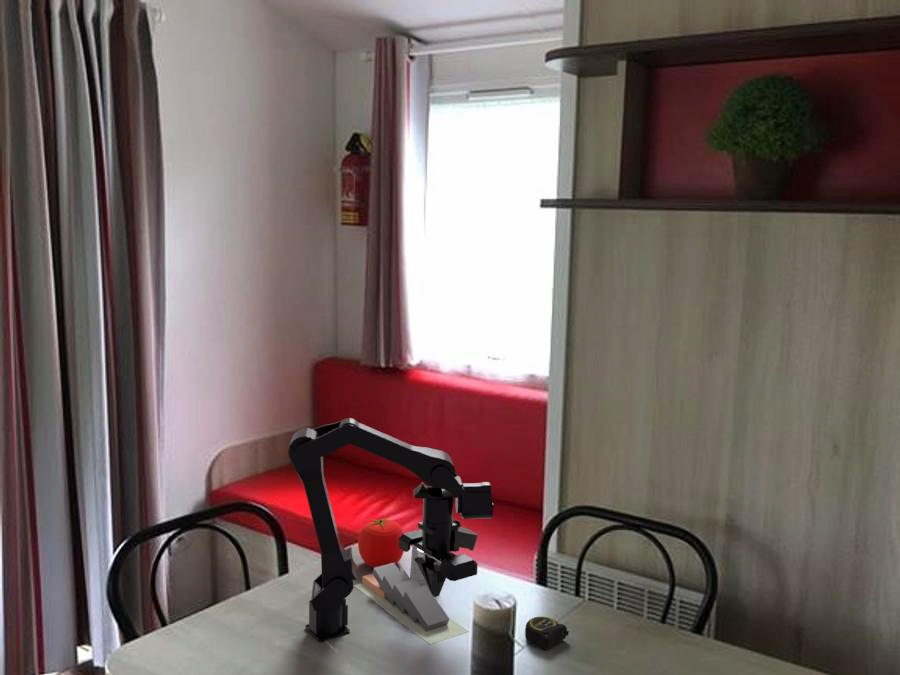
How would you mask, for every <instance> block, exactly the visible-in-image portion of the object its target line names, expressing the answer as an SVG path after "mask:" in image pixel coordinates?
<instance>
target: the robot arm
mask: <svg viewBox="0 0 900 675" xmlns="http://www.w3.org/2000/svg"><path fill="white" fill-rule="evenodd" d="M348 445H352V446H354V447H356V448H359V449H361V450H363V451H366V452H368V453H370V454H373V455H375V456H377V457H380V458H382V459H385V460H387V461H389V462H391V463H394V464H396V465H398V466H401V467H403V468H405V469H407V470H409V472H411V473H412V474H413V475H415V476H416V477H417V478H418V479H419V480H421V481H422V482H420V484H419V485H418V486H417V487H415V488H413V491H412V492H413V497H414V498H415V499H422V502H423V503H422V521H420V522H417V528H418V529H414V530H415V531H414V530H412V531H408V532H407V531H406V532H405V533H404V532H403V534H402V535H401V537H400V538H399V548H400V549H402V550H403V551H404V553H407V552H409V551H410V550H411V546H412V545H414V546H416V547H418V549H417V550H416V551H418V557H417V558H415V559H414V560H415V562H416V563H417V565H418V567H419V569H420V570H421V572H422V574H423V576H424V579H425V581H426V583H427V585H428V587H429V589H430V592H431V594H432V596H434V597H435V598H437V597H439V596H440V594H441V592H442V589H443V587H444V584H445V582H446V579H447V580H448V581H450V582H456V581H460V580H464V579H467V578H471V577H474V576H477V575H478V569H479V568H478V564H479V563H478V562H477V561H476V560H475V559H473V558H472V557H470V556H468V555H466V553H465V554H464V553H460V554H455V552H456V553H457V552H459V551H460V548H461V549H467V550H469V551H472V552H473V551H474V549H475V548H476V547H475V546H476V543H477V540H478V537H479V534H478V533H476V532H474V531H472V530H470V529H469V528H466V527H464V526H462V525H461V521H460V520H457V519H455V518H453V515H454V499H455V513H456V514H457V515H458V514H460V518H461V519H462V520H474V519H475V520H476V519H477V520H478V519H482V520H484V519H486V520H487V519H492V518H493V516H494V507H495V506H494V503H493V492H492V485H491V482H489V481H482V482H475V483H473V482H472V483H468V482H467V483H466V482H464V483H463V482H462V479H461V477H460V476H458V475H457V473H456V469H455V466H454V464H453V460H452V459H451V456H450V455H449V454H448V453H447V452H445V451H443V450H440V449H435V448H431V447H425V446H416V445H413V444H409V443H407V442H405V441H402V440H400V439H398V438H395V437H393V436H391V435H389V434H387V433H384V432H383V431H382V432H381V431H379V430H377V429H374V428H373V427H370V426H367V425H366V424H363V423H360V422H359V421H357V420H356V419H354V418H352V417H349V418H344V419H342V420H339V421H337V422H333V423H329V424H328V423H327V424H324V425H321V426H318V427H315V428H308V427H305V428H304V427H303V428H301V429H298V430H297V431H296V432H294V434H293V435H292V437H291V441H290V444H289V446H288V450H287V452H288V457H289V460H290V462H291V464H292V467H293V469H294V471H295V473H296V474H297V476H298V478H299V479H300V481H301V483H302V485H303V488H304V490H305V495H306V499H307V503H308V507H309V510H310V511H309V512H310V516H311V520H312V523H313V527H314V530H315V534H316V539H317V541H318V547H319V550H320V559H321V564H320V565H321V573H320V574H319V575H318V576H317V577H316V578H315V579H314V580H313V582H312V590H311V599H310V600H309V601H308V608H309V609H308V624H307V623H306V624H304V625H305V626H304V628H305V630H307V632H308V633H309V634H310V635H312V636H313V637H314V638H315V640H317V641H318V642H324V641H327V640H328V641H329V640H331V639H334V638H337V637H340V636H344V635H347V634H350V632H351V631H350V628H348V627H347V626H348V624H349V605H348V604H347V597H349V595H351V594H352V591H353V590H354V585H355V582H354V581H357V564H356V562H355V561H354V558H353V548H352V547H348V548H344V546H343V544H342V543H341V540H340V536H339V535H340V534H339V532H338V528H337V524H336V523H337V522H336V519H335V515H334V512H333V507H332V504H331V500H330V496H329V490H328V488H327V483H326V481H325V480H326V479H325V476H324V457H326V456H328V455H330V454H333V452H336V451H337V450H339V449H341V448H343V447H346V446H348ZM425 483H426V484H427V485H426V484H425ZM453 552H454V553H453Z"/></svg>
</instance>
